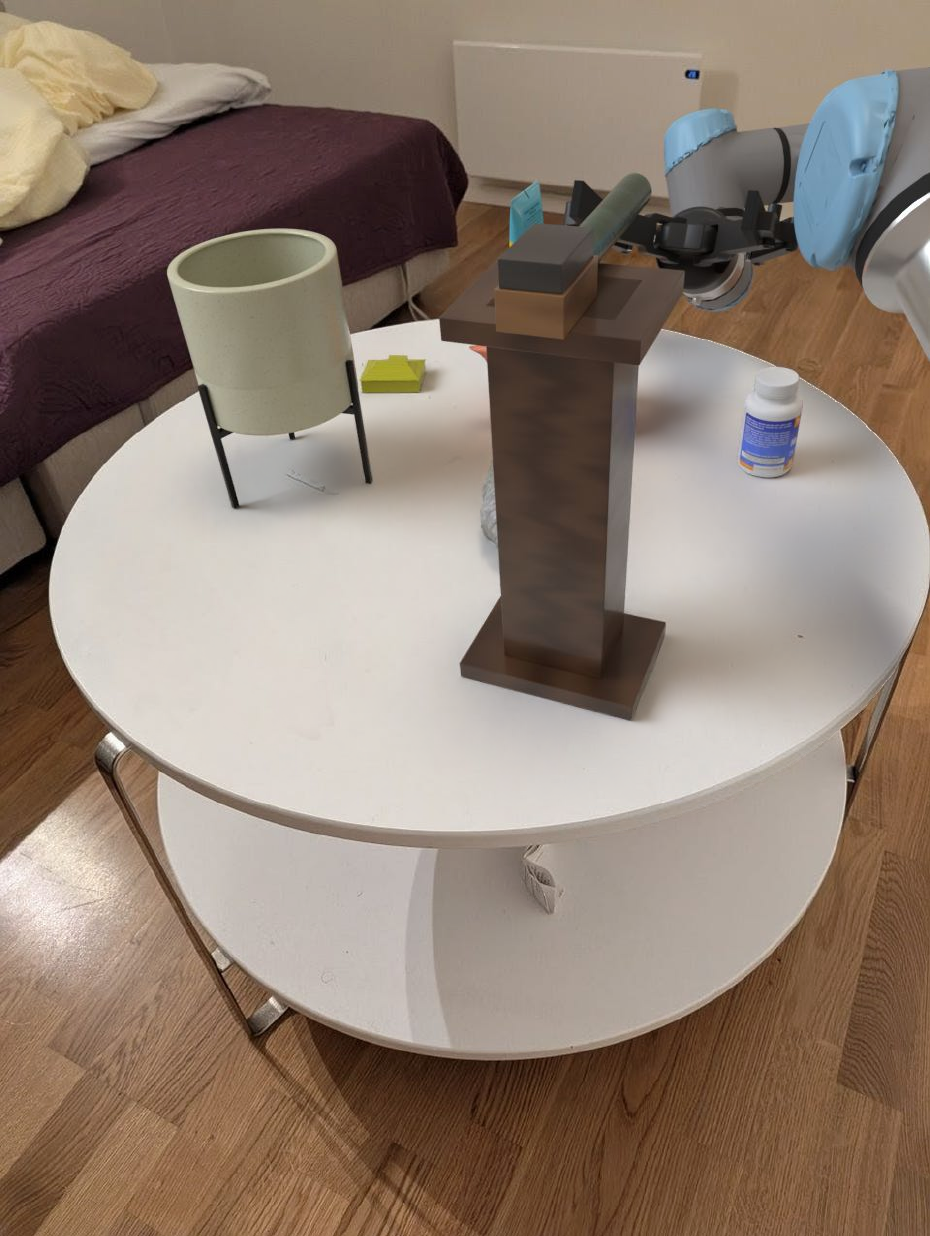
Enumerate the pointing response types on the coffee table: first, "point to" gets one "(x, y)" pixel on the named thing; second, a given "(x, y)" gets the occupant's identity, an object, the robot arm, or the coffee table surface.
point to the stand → (566, 492)
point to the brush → (562, 265)
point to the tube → (525, 211)
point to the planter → (267, 335)
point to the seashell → (489, 508)
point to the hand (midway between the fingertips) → (659, 203)
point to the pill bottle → (770, 423)
